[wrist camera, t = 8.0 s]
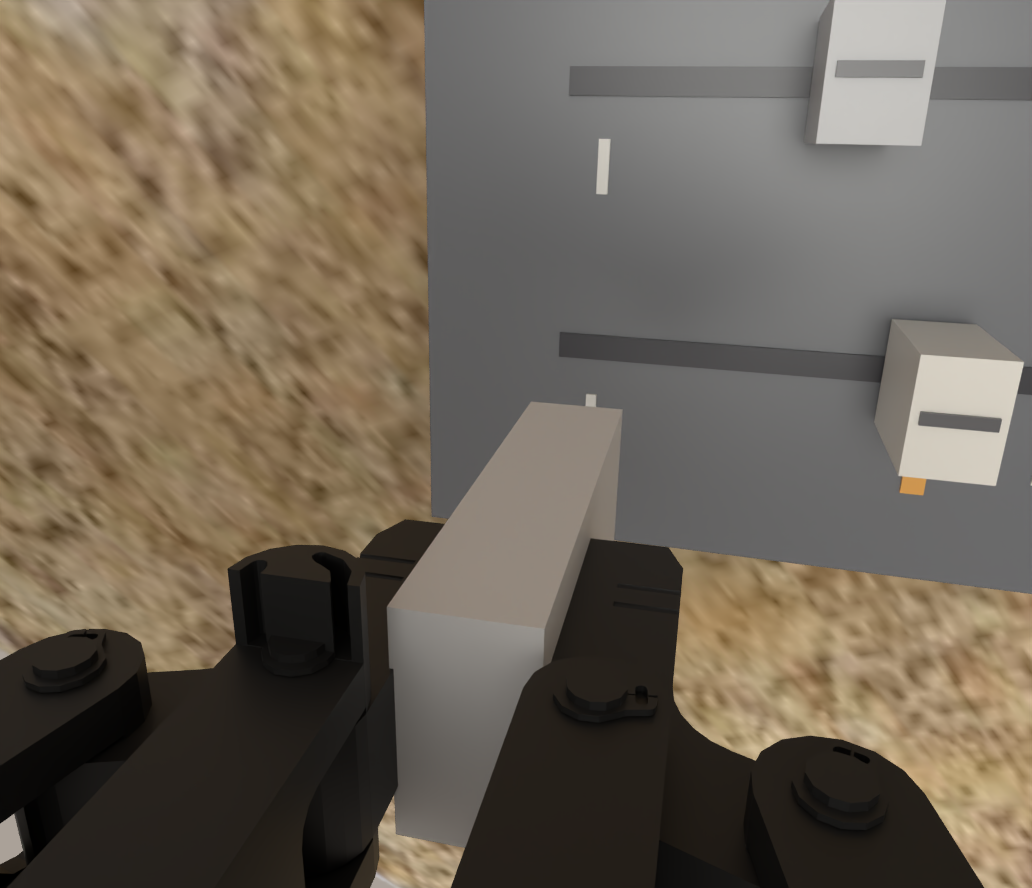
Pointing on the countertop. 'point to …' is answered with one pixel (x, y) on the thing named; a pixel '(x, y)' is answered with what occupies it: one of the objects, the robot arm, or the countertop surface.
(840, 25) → the fader grey
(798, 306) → the console
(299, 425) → the countertop surface
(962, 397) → the fader cream
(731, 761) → the robot arm
